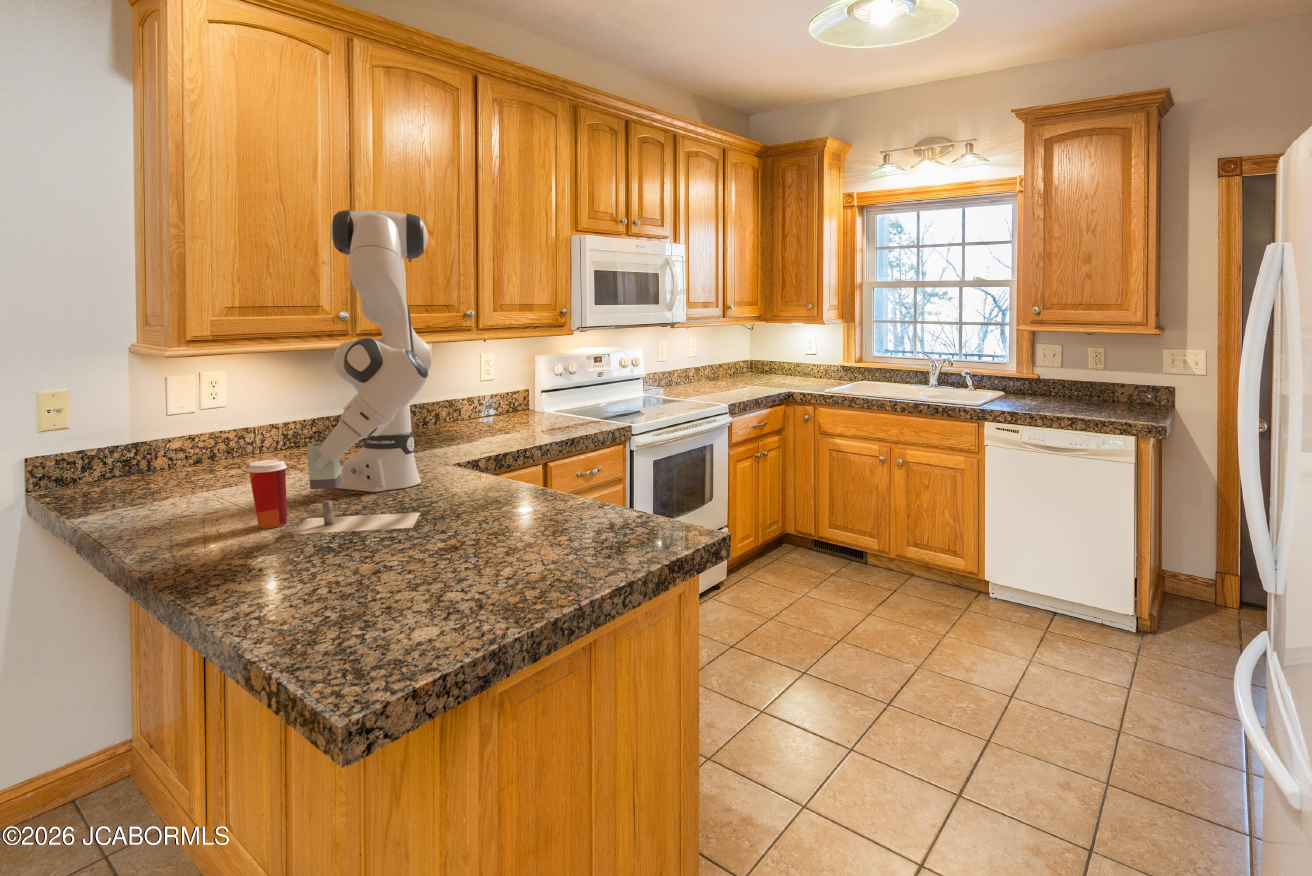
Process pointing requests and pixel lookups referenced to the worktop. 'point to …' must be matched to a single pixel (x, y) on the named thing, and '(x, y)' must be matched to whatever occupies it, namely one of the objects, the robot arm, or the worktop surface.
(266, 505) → the paper cup
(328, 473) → the sleeve
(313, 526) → the pin board
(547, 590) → the worktop surface
